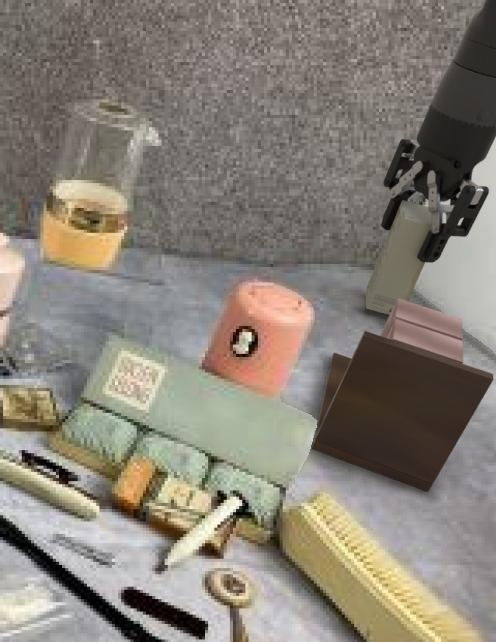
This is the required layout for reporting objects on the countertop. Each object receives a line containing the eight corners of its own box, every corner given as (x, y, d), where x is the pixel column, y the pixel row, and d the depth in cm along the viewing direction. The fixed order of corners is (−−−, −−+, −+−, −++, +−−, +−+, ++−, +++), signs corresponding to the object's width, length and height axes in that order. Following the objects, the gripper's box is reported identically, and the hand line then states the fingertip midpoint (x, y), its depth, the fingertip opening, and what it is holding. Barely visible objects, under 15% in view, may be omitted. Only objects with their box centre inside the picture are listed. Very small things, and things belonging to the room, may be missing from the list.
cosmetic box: (400, 319, 112) (443, 229, 105) (363, 308, 113) (403, 218, 106) (399, 296, 117) (440, 208, 110) (364, 286, 118) (402, 198, 111)
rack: (330, 359, 103) (376, 256, 96) (431, 394, 101) (487, 291, 93) (311, 448, 89) (363, 335, 82) (428, 492, 86) (493, 379, 79)
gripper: (539, 138, 97) (469, 276, 106) (457, 89, 108) (400, 217, 117) (479, 133, 95) (412, 274, 104) (402, 83, 106) (348, 215, 115)
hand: (406, 244), depth 111 cm, fingers closed on cosmetic box, 7 cm apart
